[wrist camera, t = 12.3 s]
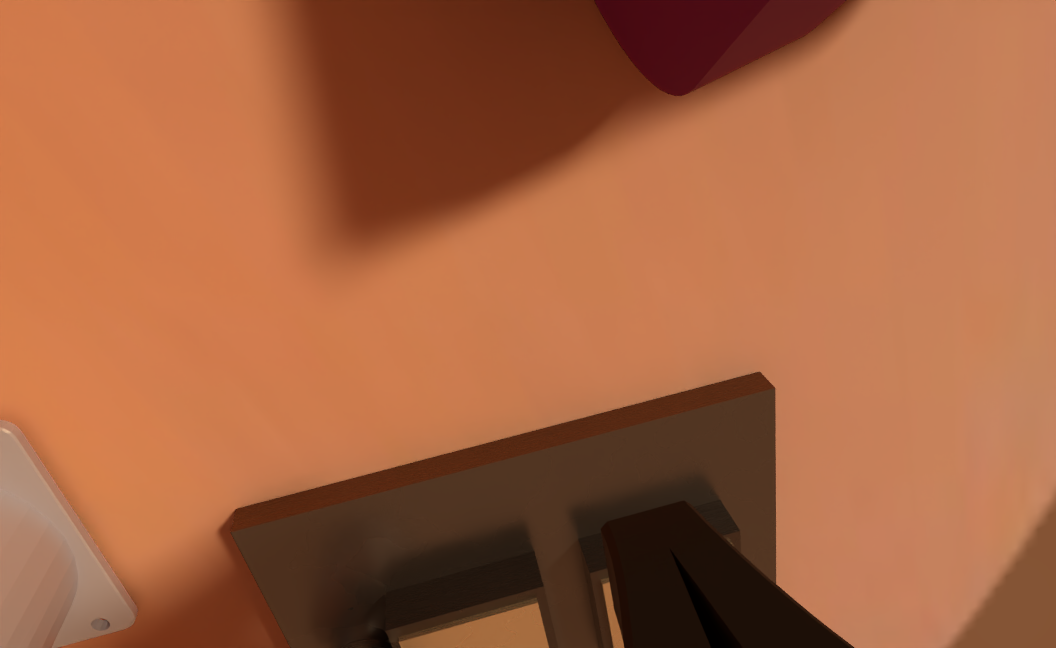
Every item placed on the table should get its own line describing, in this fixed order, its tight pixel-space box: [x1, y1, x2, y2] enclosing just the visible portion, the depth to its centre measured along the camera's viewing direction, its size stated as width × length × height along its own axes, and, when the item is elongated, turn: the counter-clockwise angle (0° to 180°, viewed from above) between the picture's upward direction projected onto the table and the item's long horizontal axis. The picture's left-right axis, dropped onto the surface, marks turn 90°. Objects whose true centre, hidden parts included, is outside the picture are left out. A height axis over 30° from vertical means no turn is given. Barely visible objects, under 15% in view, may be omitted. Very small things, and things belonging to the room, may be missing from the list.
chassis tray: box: [231, 372, 776, 648], centre depth 24 cm, size 17×14×3 cm
